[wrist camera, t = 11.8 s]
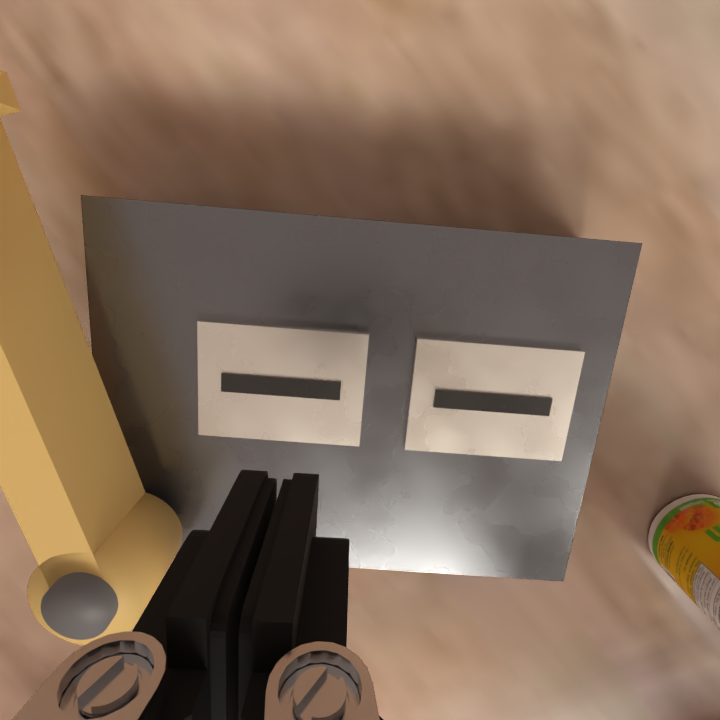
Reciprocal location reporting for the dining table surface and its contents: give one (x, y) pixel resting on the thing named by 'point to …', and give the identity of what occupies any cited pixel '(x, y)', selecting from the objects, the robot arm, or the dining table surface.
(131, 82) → the dining table surface
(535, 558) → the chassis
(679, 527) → the supplement bottle
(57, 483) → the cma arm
